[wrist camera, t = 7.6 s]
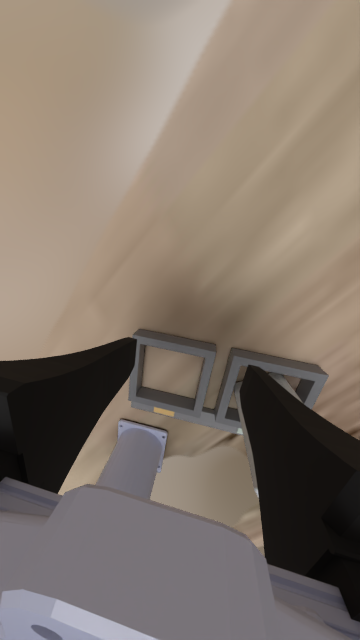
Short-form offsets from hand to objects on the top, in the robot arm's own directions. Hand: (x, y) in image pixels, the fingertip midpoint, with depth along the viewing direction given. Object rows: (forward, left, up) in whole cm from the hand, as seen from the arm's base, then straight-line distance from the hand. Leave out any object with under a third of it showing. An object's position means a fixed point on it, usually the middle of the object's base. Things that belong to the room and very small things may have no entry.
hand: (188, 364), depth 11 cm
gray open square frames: (-9, -4, -10) cm, 14 cm away
